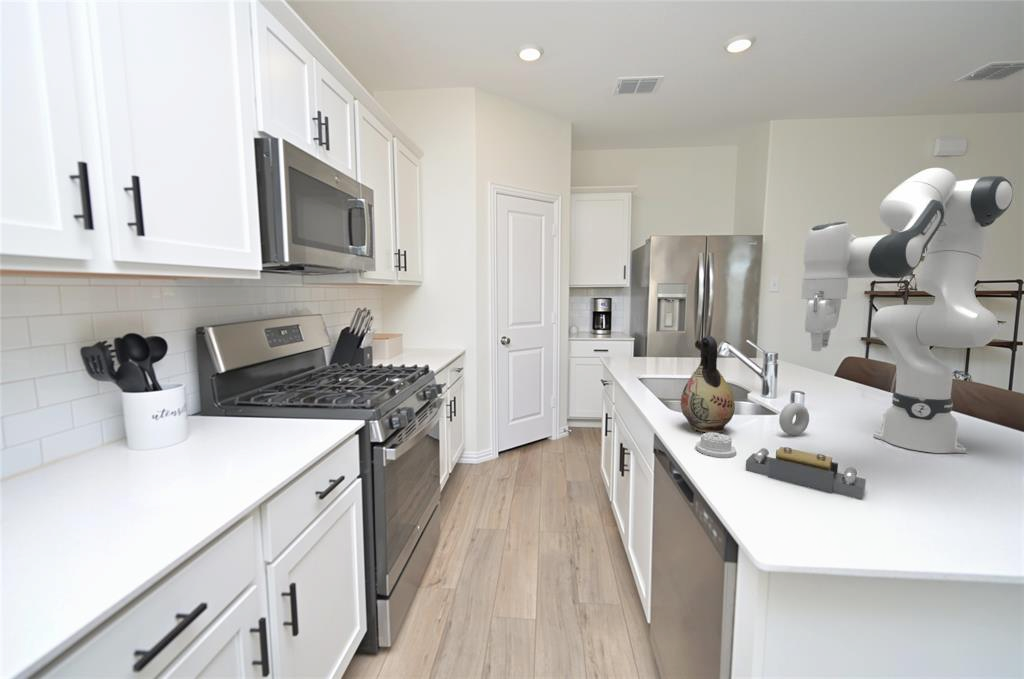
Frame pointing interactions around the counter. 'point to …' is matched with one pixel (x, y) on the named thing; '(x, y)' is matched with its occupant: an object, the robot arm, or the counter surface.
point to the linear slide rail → (808, 475)
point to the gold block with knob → (805, 458)
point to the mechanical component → (716, 445)
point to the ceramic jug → (707, 393)
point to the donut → (787, 419)
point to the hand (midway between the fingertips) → (819, 349)
